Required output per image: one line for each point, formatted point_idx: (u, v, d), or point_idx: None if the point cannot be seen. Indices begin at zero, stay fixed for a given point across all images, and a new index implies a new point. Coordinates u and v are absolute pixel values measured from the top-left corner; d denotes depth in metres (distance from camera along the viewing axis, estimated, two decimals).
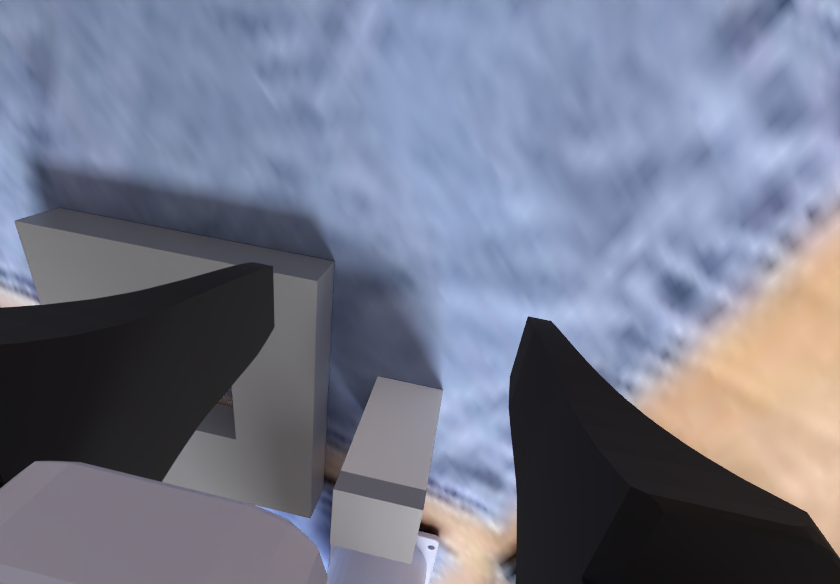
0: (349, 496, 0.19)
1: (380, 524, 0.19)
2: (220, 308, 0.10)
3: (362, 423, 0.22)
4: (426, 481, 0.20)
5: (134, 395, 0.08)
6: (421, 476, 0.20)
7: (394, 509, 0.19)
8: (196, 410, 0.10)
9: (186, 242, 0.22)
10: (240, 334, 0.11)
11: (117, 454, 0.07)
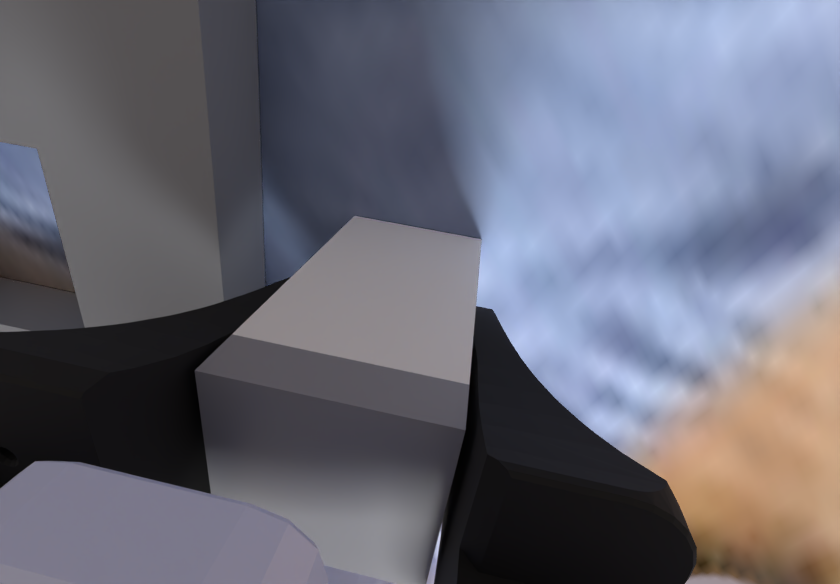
0: (244, 393, 0.06)
1: (339, 482, 0.07)
2: None
3: (311, 265, 0.10)
4: (467, 366, 0.07)
5: None
6: (453, 357, 0.07)
7: (377, 431, 0.06)
8: None
9: None
10: None
11: (199, 474, 0.07)
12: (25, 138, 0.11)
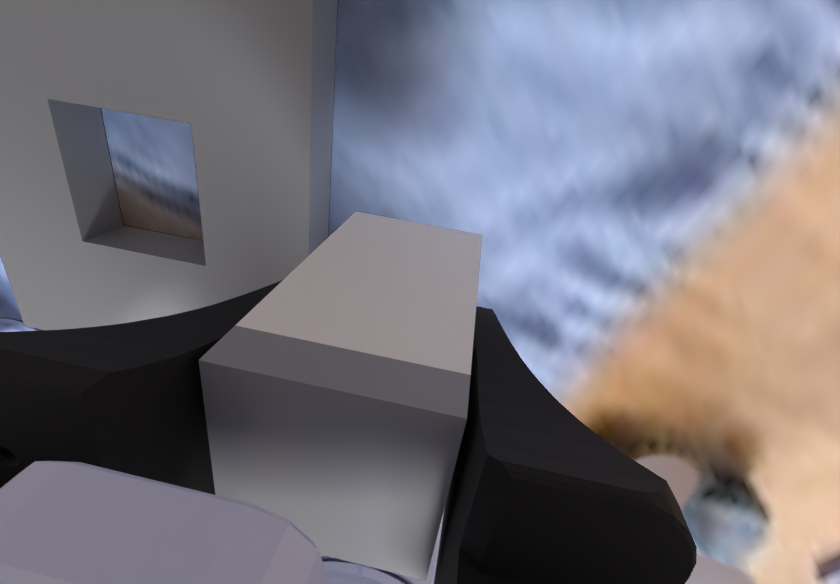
0: (247, 382, 0.06)
1: (341, 471, 0.07)
2: None
3: (313, 259, 0.10)
4: (468, 357, 0.07)
5: None
6: (454, 348, 0.07)
7: (379, 420, 0.06)
8: None
9: None
10: None
11: (199, 474, 0.07)
12: (184, 116, 0.17)
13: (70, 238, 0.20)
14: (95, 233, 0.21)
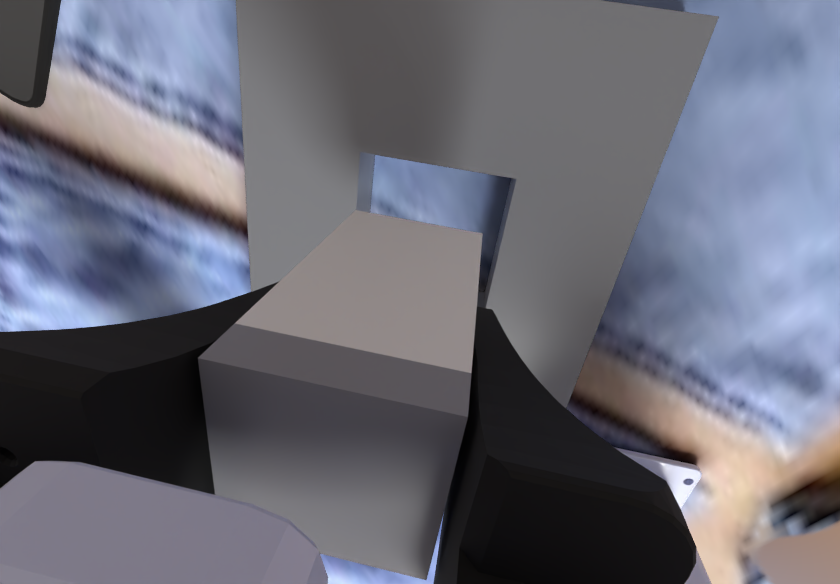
0: (247, 380, 0.06)
1: (341, 470, 0.07)
2: None
3: (313, 257, 0.10)
4: (469, 355, 0.07)
5: None
6: (455, 346, 0.07)
7: (380, 418, 0.06)
8: None
9: None
10: None
11: (199, 474, 0.07)
12: (511, 172, 0.16)
13: None
14: None
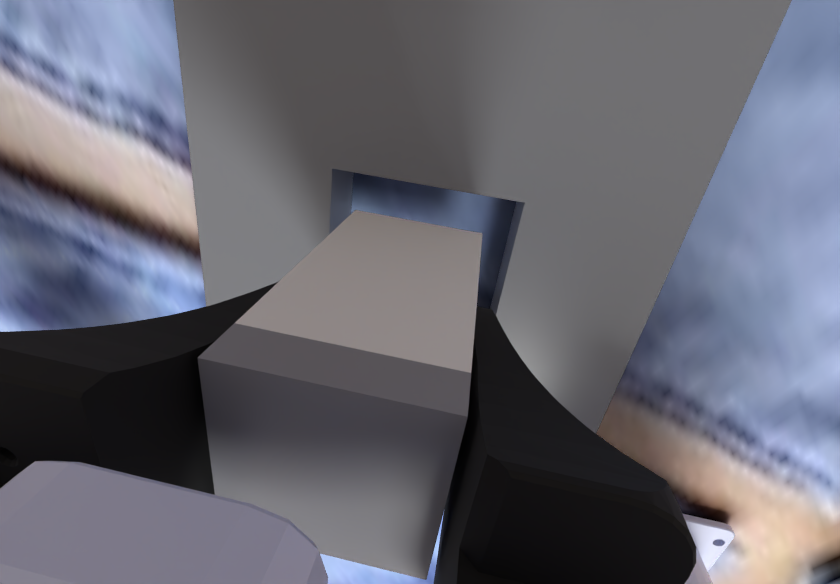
0: (246, 380, 0.06)
1: (341, 470, 0.07)
2: None
3: (313, 257, 0.10)
4: (469, 355, 0.07)
5: None
6: (455, 346, 0.07)
7: (380, 418, 0.06)
8: None
9: None
10: None
11: (199, 473, 0.07)
12: (517, 194, 0.13)
13: None
14: None
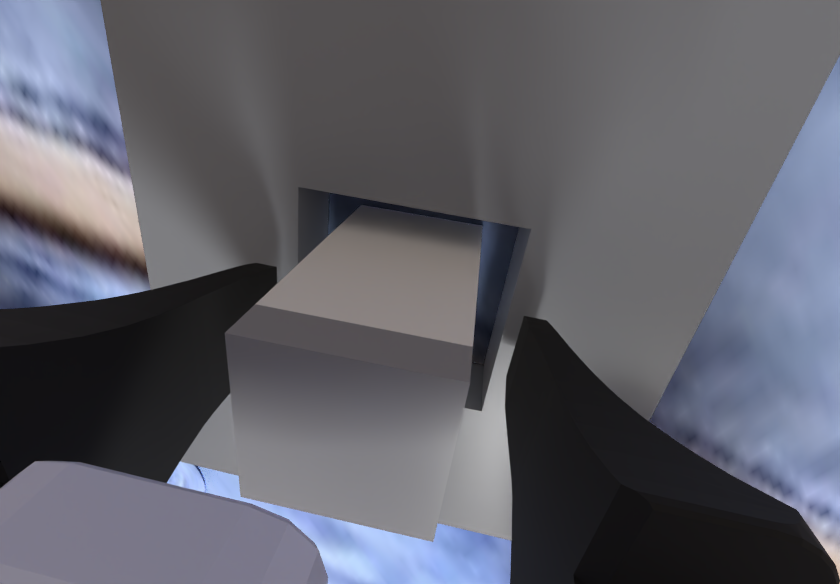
0: (269, 353, 0.07)
1: (354, 437, 0.07)
2: (224, 309, 0.10)
3: (323, 247, 0.10)
4: (470, 332, 0.08)
5: (139, 396, 0.08)
6: (457, 324, 0.08)
7: (390, 386, 0.07)
8: (200, 411, 0.10)
9: None
10: None
11: (122, 455, 0.07)
12: (522, 219, 0.11)
13: None
14: None
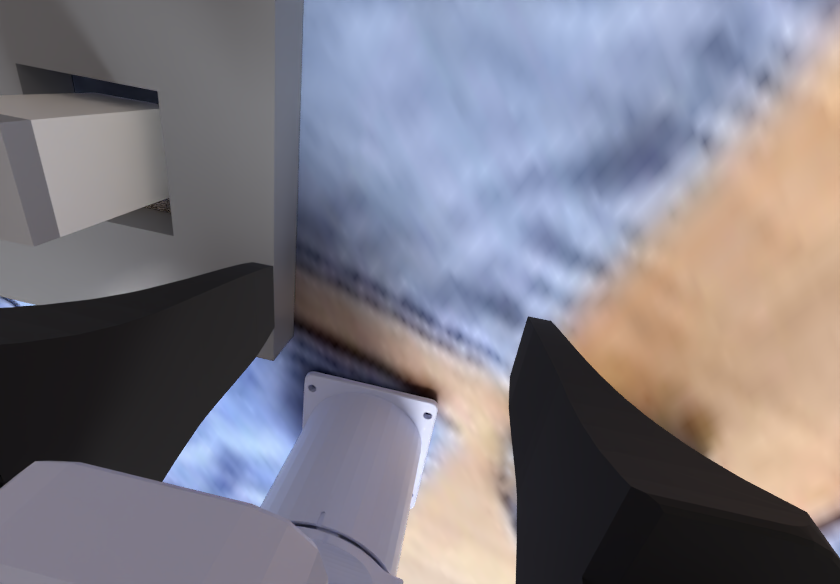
0: None
1: None
2: (220, 308, 0.10)
3: (16, 95, 0.17)
4: (42, 118, 0.14)
5: (134, 395, 0.08)
6: (40, 116, 0.14)
7: None
8: (196, 410, 0.10)
9: None
10: (240, 334, 0.11)
11: (117, 454, 0.07)
12: (150, 84, 0.17)
13: None
14: None
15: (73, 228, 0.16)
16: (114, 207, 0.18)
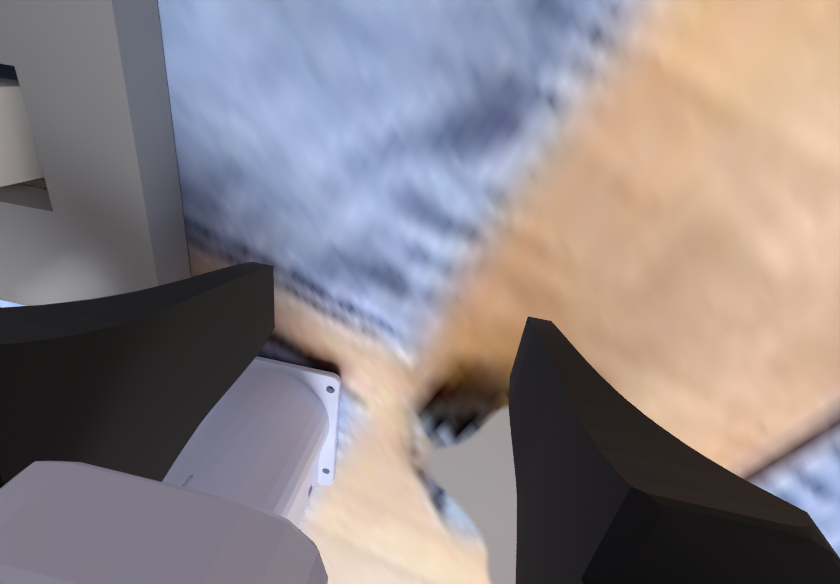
0: None
1: None
2: (220, 308, 0.10)
3: None
4: None
5: (134, 395, 0.08)
6: None
7: None
8: (196, 410, 0.10)
9: None
10: (240, 334, 0.11)
11: (117, 454, 0.07)
12: (6, 59, 0.17)
13: None
14: None
15: None
16: None
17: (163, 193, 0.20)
